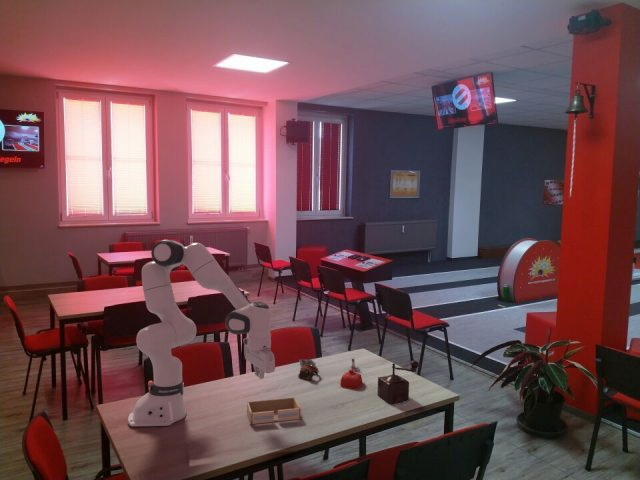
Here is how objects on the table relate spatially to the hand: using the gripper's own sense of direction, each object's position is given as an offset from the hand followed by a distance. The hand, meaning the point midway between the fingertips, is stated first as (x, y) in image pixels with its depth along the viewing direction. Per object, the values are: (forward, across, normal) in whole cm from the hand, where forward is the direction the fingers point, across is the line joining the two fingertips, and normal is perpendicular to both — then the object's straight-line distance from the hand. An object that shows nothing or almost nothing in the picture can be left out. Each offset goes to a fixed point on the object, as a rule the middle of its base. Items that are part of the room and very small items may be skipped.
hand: (259, 376), depth 198 cm
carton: (+17, -2, -6) cm, 18 cm away
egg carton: (+18, +37, -49) cm, 64 cm away
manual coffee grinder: (+17, -16, -61) cm, 65 cm away
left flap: (+17, -4, +6) cm, 18 cm away
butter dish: (+18, +7, -52) cm, 55 cm away
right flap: (+17, -10, -13) cm, 24 cm away
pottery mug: (+18, +25, -38) cm, 49 cm away
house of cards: (+18, +19, -65) cm, 70 cm away
